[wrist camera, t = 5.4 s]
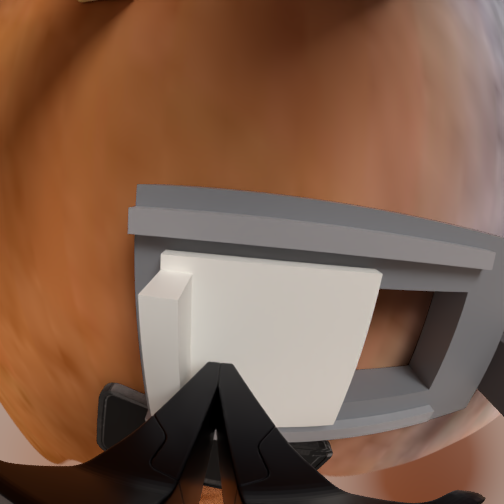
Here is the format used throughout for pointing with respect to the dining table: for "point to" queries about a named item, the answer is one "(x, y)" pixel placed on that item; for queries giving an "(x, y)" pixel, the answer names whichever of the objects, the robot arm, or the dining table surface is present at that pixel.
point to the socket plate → (353, 255)
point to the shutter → (258, 329)
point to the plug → (495, 379)
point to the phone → (133, 416)
